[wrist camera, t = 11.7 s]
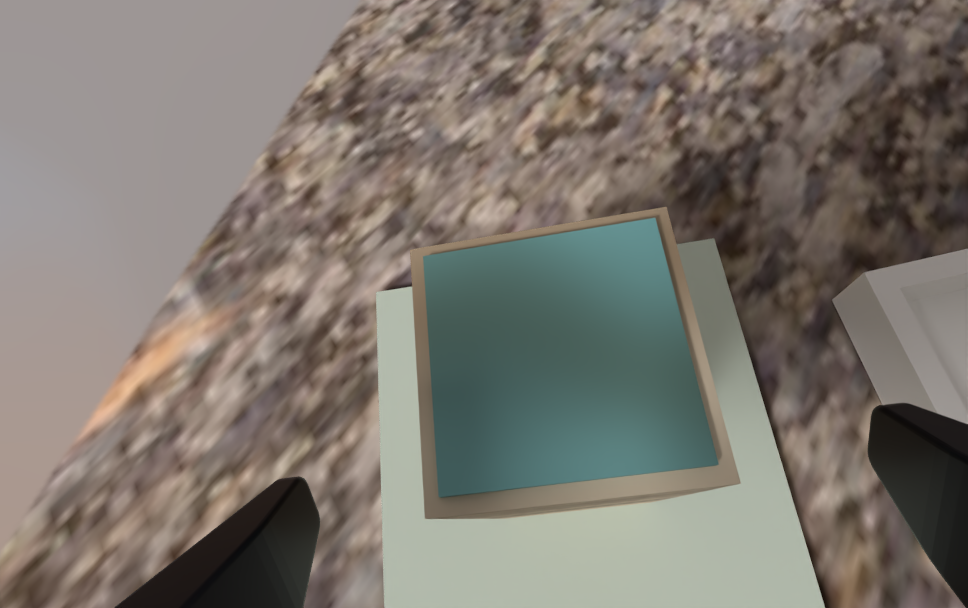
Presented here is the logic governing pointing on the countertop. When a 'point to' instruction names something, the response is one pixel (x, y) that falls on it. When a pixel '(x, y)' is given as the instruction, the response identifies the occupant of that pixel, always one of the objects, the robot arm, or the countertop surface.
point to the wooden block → (563, 372)
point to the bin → (913, 331)
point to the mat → (603, 531)
